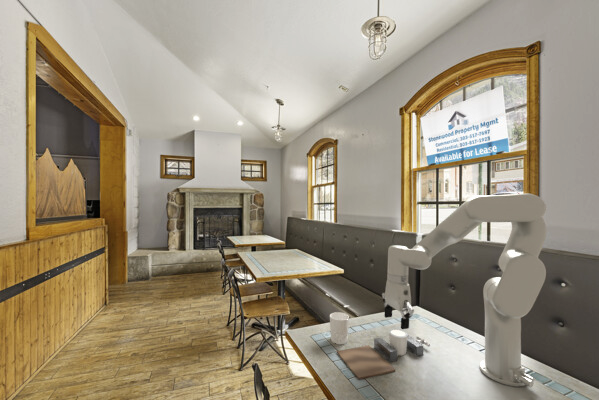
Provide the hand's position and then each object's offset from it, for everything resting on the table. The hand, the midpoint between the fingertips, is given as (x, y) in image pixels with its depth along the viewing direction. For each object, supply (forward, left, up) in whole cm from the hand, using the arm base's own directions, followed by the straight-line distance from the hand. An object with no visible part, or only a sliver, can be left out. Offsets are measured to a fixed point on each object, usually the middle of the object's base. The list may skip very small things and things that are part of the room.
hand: (396, 322), depth 102 cm
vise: (-1, -3, -11) cm, 11 cm away
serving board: (-3, +15, -11) cm, 19 cm away
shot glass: (-1, -1, -11) cm, 11 cm away
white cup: (+13, +17, -11) cm, 25 cm away
